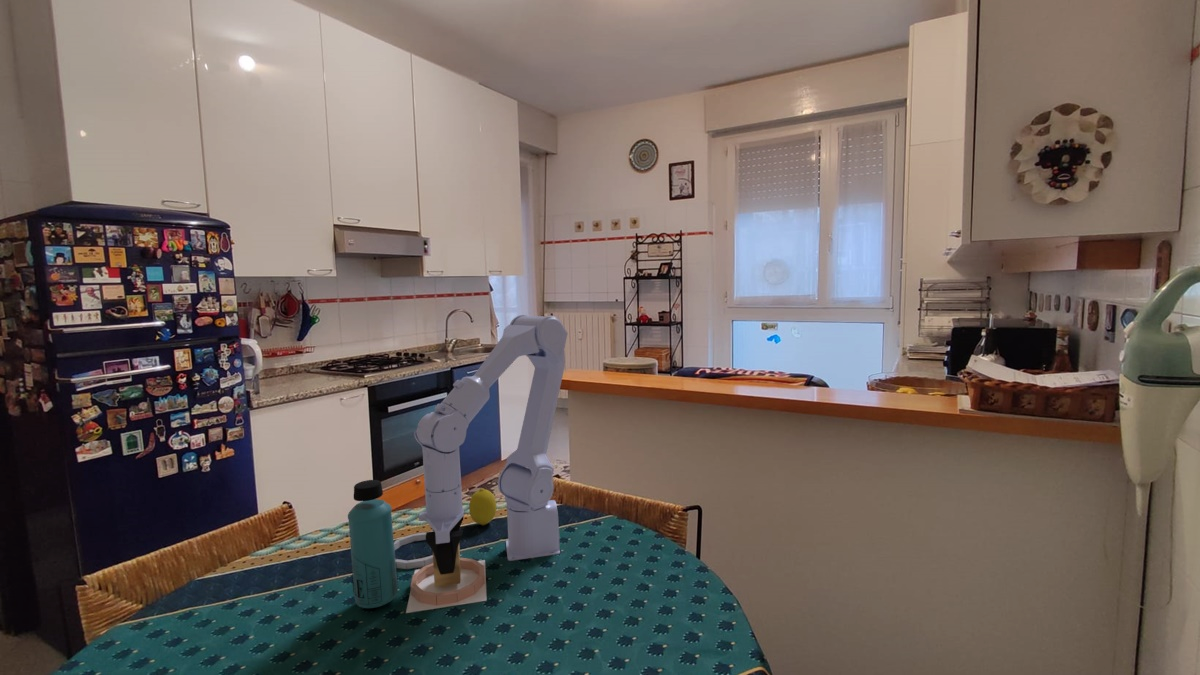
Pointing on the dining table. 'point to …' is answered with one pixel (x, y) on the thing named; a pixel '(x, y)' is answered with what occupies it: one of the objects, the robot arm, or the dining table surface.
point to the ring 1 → (412, 563)
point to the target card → (448, 590)
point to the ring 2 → (452, 595)
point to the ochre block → (451, 577)
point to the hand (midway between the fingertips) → (447, 565)
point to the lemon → (482, 506)
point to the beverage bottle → (372, 547)
